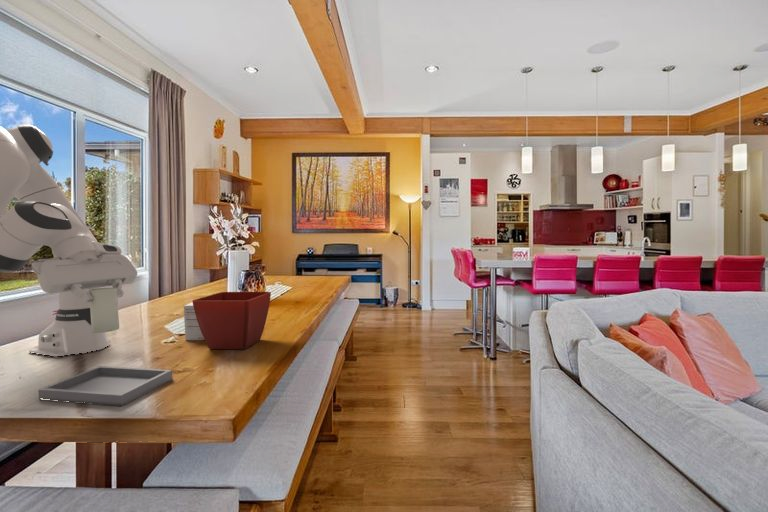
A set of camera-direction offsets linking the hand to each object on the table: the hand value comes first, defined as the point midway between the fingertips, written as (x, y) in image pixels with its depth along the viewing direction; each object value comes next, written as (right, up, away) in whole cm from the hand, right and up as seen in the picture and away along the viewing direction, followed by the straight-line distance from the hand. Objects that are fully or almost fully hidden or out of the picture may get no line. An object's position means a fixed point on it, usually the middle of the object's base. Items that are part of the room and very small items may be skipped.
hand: (105, 298), depth 95 cm
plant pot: (+17, -20, +39) cm, 47 cm away
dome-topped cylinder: (0, -8, +1) cm, 8 cm away
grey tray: (0, -23, +2) cm, 23 cm away
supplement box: (0, -20, +48) cm, 52 cm away
